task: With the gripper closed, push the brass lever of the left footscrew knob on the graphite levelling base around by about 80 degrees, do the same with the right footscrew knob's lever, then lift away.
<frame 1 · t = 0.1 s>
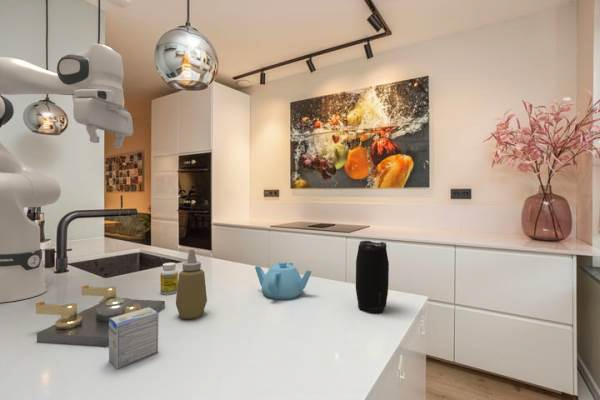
hand: (106, 145, 90), 48 cm above the worktop, tool pointing down, fingers open, 8 cm apart
portable speaker: (371, 309, 87), on the worktop
footscrew knob 1: (58, 313, 69), point 5 cm above the worktop, hinge at 0.0°
teapot: (282, 294, 99), on the worktop
supplement bottle: (169, 292, 99), on the worktop
levelling base: (109, 322, 75), on the worktop
medicine box: (134, 358, 60), on the worktop
footscrew knob 2: (100, 295, 82), point 5 cm above the worktop, hinge at 0.0°
squeeze bottle: (191, 315, 80), on the worktop
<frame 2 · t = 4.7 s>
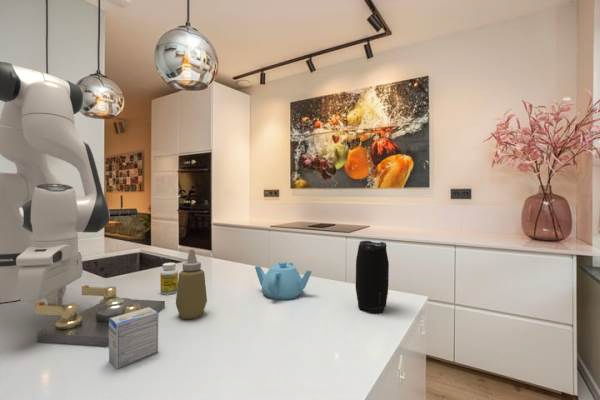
hand: (55, 307, 71), 5 cm above the worktop, tool pointing down, fingers closed
footscrew knob 1: (58, 313, 69), point 5 cm above the worktop, hinge at 0.0°, touching gripper
everything else where it was.
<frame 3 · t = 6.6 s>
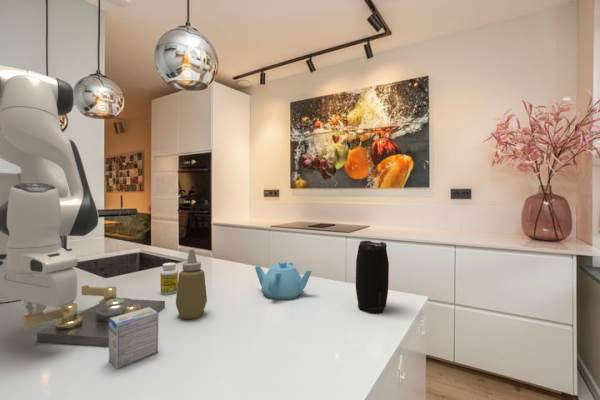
hand: (35, 320, 64), 5 cm above the worktop, tool pointing down, fingers closed, pressing on footscrew knob 1
footscrew knob 1: (54, 318, 67), point 5 cm above the worktop, hinge at 66.3°, touching gripper
everything else where it was.
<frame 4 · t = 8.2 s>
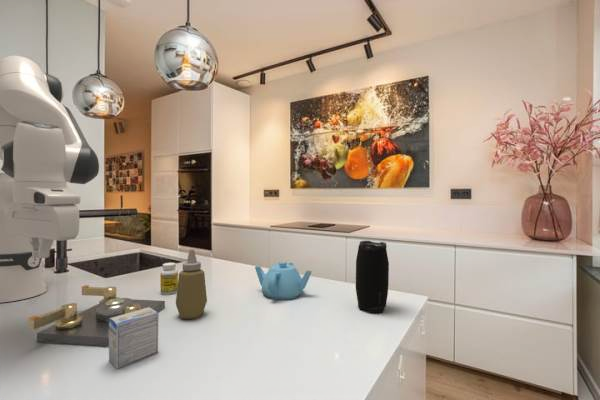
hand: (40, 257, 65), 19 cm above the worktop, tool pointing down, fingers closed
footscrew knob 1: (57, 319, 66), point 5 cm above the worktop, hinge at 83.3°
everything else where it was.
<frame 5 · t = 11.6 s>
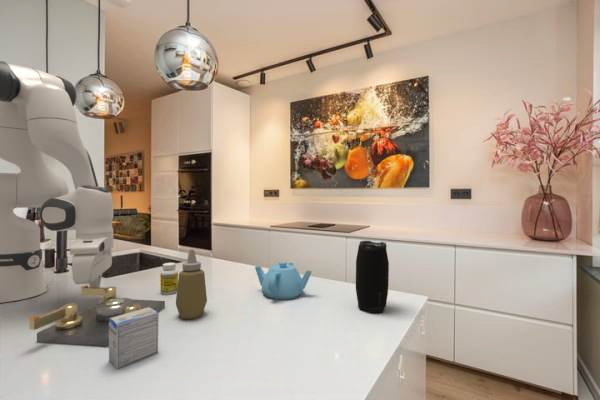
hand: (95, 290, 84), 5 cm above the worktop, tool pointing down, fingers closed, pressing on footscrew knob 2
footscrew knob 1: (57, 319, 66), point 5 cm above the worktop, hinge at 83.8°
footscrew knob 2: (100, 295, 82), point 5 cm above the worktop, hinge at 1.0°, touching gripper
everything else where it was.
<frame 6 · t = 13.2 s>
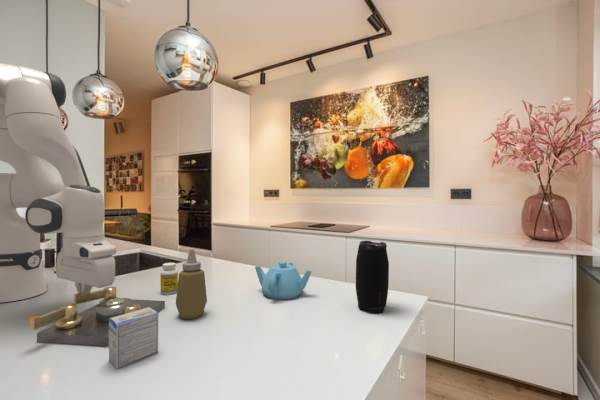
hand: (83, 298, 78), 5 cm above the worktop, tool pointing down, fingers closed, pressing on footscrew knob 2
footscrew knob 2: (98, 298, 80), point 5 cm above the worktop, hinge at 58.9°, touching gripper
everything else where it was.
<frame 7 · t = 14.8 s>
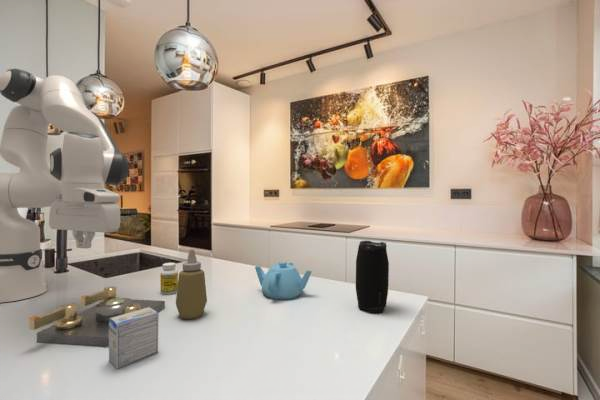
hand: (83, 247, 76), 19 cm above the worktop, tool pointing down, fingers closed
footscrew knob 2: (101, 298, 79), point 5 cm above the worktop, hinge at 83.2°
everything else where it was.
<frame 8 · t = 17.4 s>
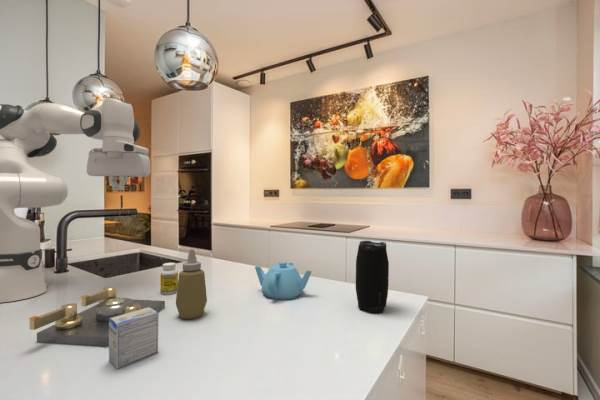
hand: (118, 190, 97), 34 cm above the worktop, tool pointing down, fingers closed
footscrew knob 2: (101, 298, 79), point 5 cm above the worktop, hinge at 83.8°
everything else where it was.
at the end: footscrew knob 1 at +84° (first picture: +0°); footscrew knob 2 at +84° (first picture: +0°); the gripper is holding nothing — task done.
